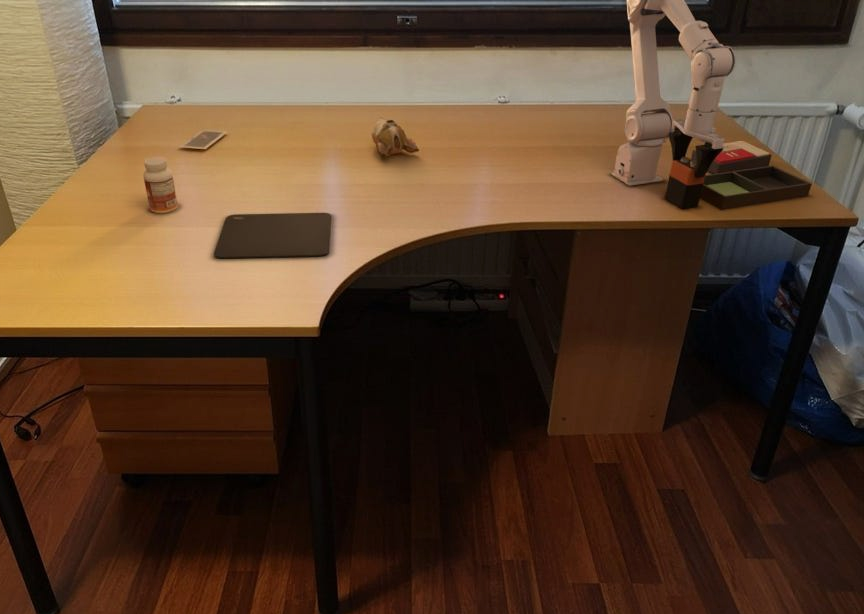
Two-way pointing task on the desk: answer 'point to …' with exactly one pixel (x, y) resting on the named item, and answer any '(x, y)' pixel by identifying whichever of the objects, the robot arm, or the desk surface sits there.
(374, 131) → the ceramic sculpture
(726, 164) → the red and cream box
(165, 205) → the pill bottle
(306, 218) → the mouse pad
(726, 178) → the organizer
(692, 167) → the battery
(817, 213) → the desk surface
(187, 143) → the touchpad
